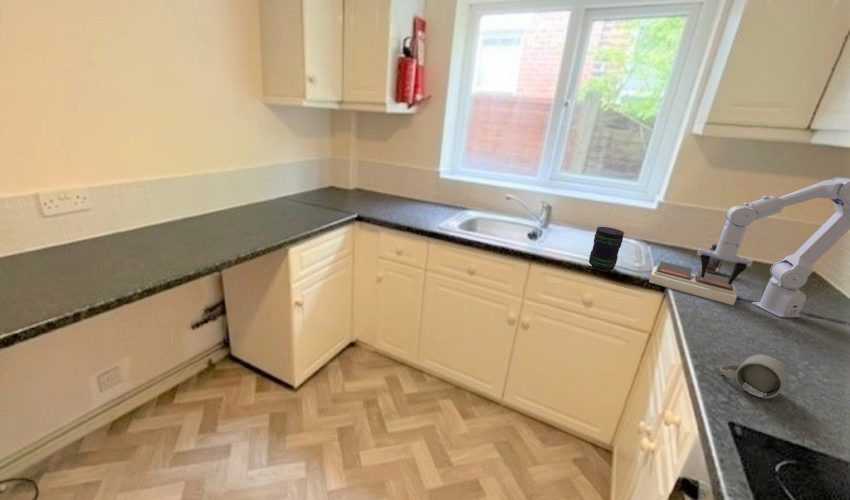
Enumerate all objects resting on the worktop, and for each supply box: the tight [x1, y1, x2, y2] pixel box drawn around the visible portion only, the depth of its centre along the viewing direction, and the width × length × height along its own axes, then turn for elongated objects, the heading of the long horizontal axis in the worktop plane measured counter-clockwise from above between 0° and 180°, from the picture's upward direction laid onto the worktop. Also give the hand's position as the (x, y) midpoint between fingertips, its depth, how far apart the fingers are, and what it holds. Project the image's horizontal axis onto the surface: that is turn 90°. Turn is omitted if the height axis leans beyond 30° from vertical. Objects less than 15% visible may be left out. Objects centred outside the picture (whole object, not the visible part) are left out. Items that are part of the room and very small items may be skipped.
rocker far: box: [657, 260, 693, 280], centre depth 139 cm, size 10×7×1 cm
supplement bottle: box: [701, 243, 724, 275], centre depth 155 cm, size 6×6×11 cm
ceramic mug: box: [719, 354, 787, 399], centre depth 84 cm, size 11×8×8 cm
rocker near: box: [696, 270, 734, 291], centre depth 133 cm, size 10×7×1 cm
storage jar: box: [588, 226, 625, 272], centre depth 148 cm, size 10×10×15 cm
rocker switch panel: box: [648, 264, 737, 306], centre depth 137 cm, size 25×12×4 cm, turn 55°
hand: (715, 280), depth 131 cm, fingers open, 7 cm apart
